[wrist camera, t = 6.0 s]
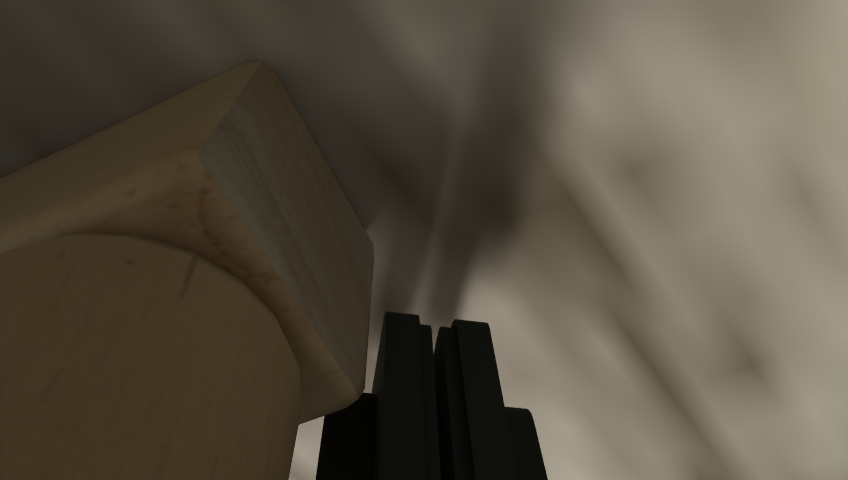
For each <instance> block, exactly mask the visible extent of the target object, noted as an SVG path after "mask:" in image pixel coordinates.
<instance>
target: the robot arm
mask: <svg viewBox="0 0 848 480" xmlns="http://www.w3.org/2000/svg"><path fill="white" fill-rule="evenodd" d="M316 480H548V479H547V475H546V470H545V466H544V462H543V458H542V453H541V449H540V445H539V441H538V437H537V432H536V428H535V424H534V420H533V417H532V414H531V412H530V411H529V410H528V409H522V408H512V407H504V401H503V396H502V391H501V385H500V380H499V375H498V370H497V364H496V359H495V354H494V348H493V343H492V338H491V333H490V328H489V324H488V323H484V322H475V321H466V320H457V319H454V320H453V322H452V325H451V328H448V327H440V329H439V332H438V336H437V340H436V345H435V350H434V354H433V343H432V329H431V326H430V325H421V324H420V319H419V315H413V314H404V313H395V312H385V315H384V320H383V326H382V332H381V338H380V345H379V351H378V357H377V363H376V369H375V375H374V382H373V388H372V394H371V393H362V394H361V396H360V398H359V399H358V400H356V401H355V402H354V403H352V404H351V405H350V406H349V407H347V408H345V409H342V410H339V411H336V412H333V413H330V414H327V415H325V417H324V424H323V431H322V438H321V445H320V452H319V459H318V467H317V474H316Z"/></svg>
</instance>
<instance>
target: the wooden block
mask: <svg viewBox="0 0 848 480" xmlns="http://www.w3.org/2000/svg"><path fill="white" fill-rule="evenodd" d="M373 264H374V251H373V244H372V242H371V240H370V239H369V237H368V235H367V233H366V231H365V230H364V228H363V226H362V224H361V223H360V221H359V219H358V217H357V215H356V214H355V212H354V210H353V208H352V207H351V205H350V203H349V201H348V200H347V198H346V196H345V194H344V192H343V191H342V189H341V187H340V185H339V184H338V182H337V180H336V178H335V176H334V175H333V173H332V171H331V169H330V168H329V166H328V164H327V162H326V160H325V159H324V157H323V155H322V153H321V152H320V150H319V148H318V146H317V145H316V143H315V141H314V139H313V137H312V136H311V134H310V132H309V130H308V129H307V127H306V125H305V123H304V121H303V120H302V118H301V116H300V114H299V113H298V111H297V109H296V107H295V106H294V104H293V102H292V100H291V98H290V97H289V95H288V93H287V91H286V90H285V88H284V86H283V84H282V82H281V81H280V79H279V77H278V75H277V74H276V73H275V72H274V71H273V70H272V69H270V68H269V67H268V66H267V65H266V64H265V63H264V62H245V63H242V64H240V65H238V66H236V67H234V68H232V69H230V70H228V71H226V72H224V73H221V74H219V75H217V76H215V77H213V78H211V79H209V80H207V81H205V82H203V83H200V84H198V85H196V86H194V87H192V88H190V89H188V90H186V91H184V92H182V93H179V94H177V95H175V96H173V97H171V98H169V99H167V100H165V101H163V102H161V103H158V104H156V105H154V106H152V107H150V108H148V109H146V110H144V111H142V112H139V113H137V114H135V115H133V116H131V117H129V118H127V119H125V120H123V121H121V122H118V123H116V124H114V125H112V126H110V127H108V128H106V129H104V130H102V131H100V132H97V133H95V134H93V135H91V136H89V137H87V138H85V139H83V140H81V141H79V142H76V143H74V144H72V145H70V146H68V147H66V148H64V149H62V150H60V151H58V152H55V153H53V154H51V155H49V156H47V157H45V158H43V159H41V160H39V161H36V162H34V163H32V164H30V165H28V166H26V167H24V168H22V169H20V170H18V171H15V172H13V173H11V174H9V175H7V176H5V177H3V178H1V179H0V480H288V479H289V473H290V468H291V462H292V457H293V451H294V446H295V441H296V435H297V430H298V425H299V424H302V423H305V422H307V421H310V420H313V419H316V418H319V417H322V416H325V415H327V414H330V413H333V412H336V411H339V410H342V409H345V408H347V407H349V406H350V405H351V404H352V403H354V402H355V401H356V400H358V399H359V398H360V396H361V394H362V392H363V391H364V389H365V376H366V362H367V348H368V334H369V320H370V306H371V292H372V278H373Z"/></svg>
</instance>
